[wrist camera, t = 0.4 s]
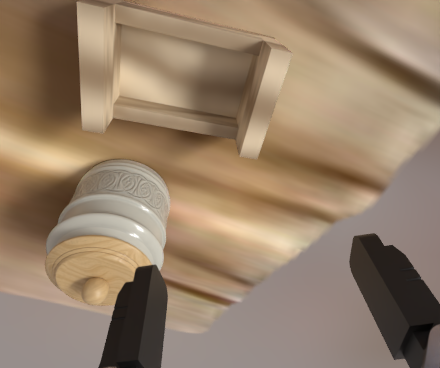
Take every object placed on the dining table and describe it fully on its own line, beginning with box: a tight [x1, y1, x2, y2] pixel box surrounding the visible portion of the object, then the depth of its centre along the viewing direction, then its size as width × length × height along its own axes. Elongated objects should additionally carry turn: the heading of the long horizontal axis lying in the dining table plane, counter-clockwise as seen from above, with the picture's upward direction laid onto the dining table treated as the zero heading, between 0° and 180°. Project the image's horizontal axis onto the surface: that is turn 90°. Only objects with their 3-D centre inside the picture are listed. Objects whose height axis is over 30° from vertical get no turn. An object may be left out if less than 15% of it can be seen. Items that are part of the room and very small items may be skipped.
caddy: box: [77, 0, 293, 159], centre depth 31 cm, size 11×18×8 cm, turn 77°
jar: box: [45, 159, 170, 306], centre depth 36 cm, size 13×13×18 cm
